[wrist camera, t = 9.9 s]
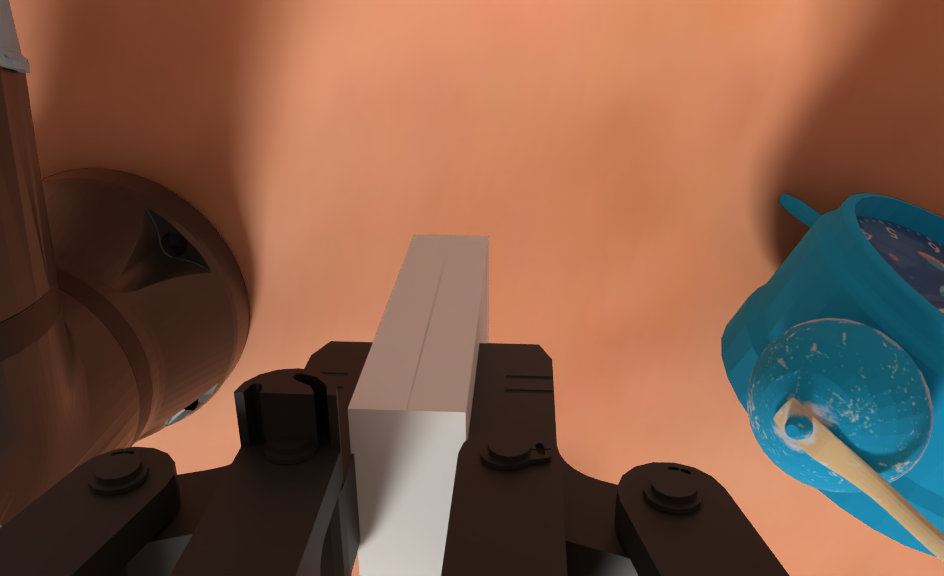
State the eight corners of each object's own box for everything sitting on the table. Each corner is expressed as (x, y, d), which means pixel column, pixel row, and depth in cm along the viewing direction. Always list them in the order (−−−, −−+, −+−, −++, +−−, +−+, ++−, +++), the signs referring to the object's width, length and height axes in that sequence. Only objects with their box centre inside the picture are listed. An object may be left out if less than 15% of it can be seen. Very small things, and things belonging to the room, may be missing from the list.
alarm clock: (1058, 268, 42) (1449, 528, 24) (929, 423, 46) (1179, 747, 28) (769, 127, 40) (948, 287, 22) (663, 299, 45) (740, 555, 26)
